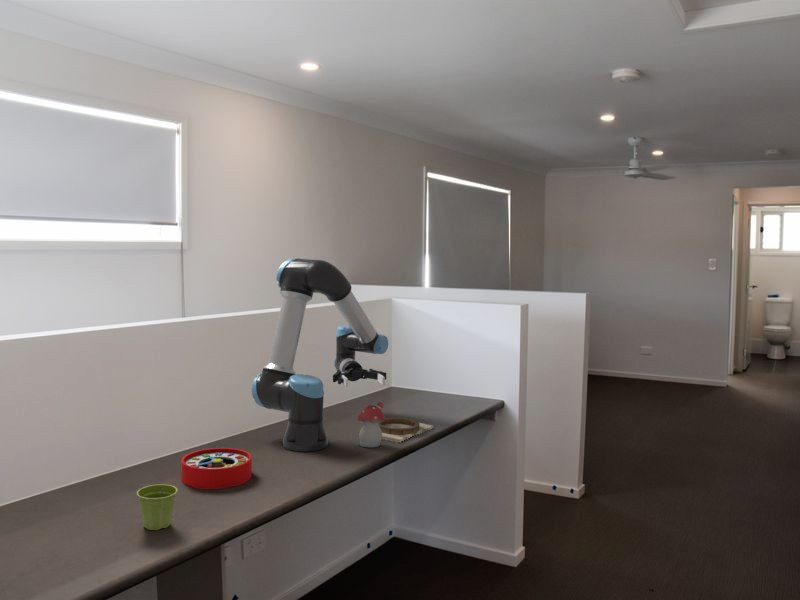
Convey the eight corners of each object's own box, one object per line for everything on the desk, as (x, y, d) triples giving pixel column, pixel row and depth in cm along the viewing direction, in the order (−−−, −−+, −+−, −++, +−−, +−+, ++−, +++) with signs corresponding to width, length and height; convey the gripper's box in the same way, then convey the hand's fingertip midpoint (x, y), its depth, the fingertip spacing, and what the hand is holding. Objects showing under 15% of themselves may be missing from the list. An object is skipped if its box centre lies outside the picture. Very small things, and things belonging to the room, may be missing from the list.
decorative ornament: (384, 443, 244) (385, 400, 242) (383, 448, 237) (384, 405, 236) (357, 442, 244) (358, 399, 243) (356, 447, 238) (357, 404, 236)
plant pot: (182, 518, 176) (182, 484, 175) (171, 534, 166) (171, 498, 166) (144, 517, 175) (144, 483, 175) (131, 533, 166) (131, 497, 165)
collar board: (399, 442, 245) (399, 434, 244) (359, 434, 254) (360, 426, 253) (433, 428, 265) (433, 420, 265) (395, 420, 274) (395, 413, 274)
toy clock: (264, 460, 205) (199, 474, 192) (264, 479, 205) (199, 495, 192) (231, 444, 220) (169, 455, 206) (231, 462, 220) (169, 475, 207)
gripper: (382, 378, 275) (398, 390, 255) (319, 381, 267) (330, 394, 247) (382, 359, 274) (398, 370, 254) (319, 361, 266) (331, 373, 246)
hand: (365, 381), depth 250 cm, fingers open, 13 cm apart
